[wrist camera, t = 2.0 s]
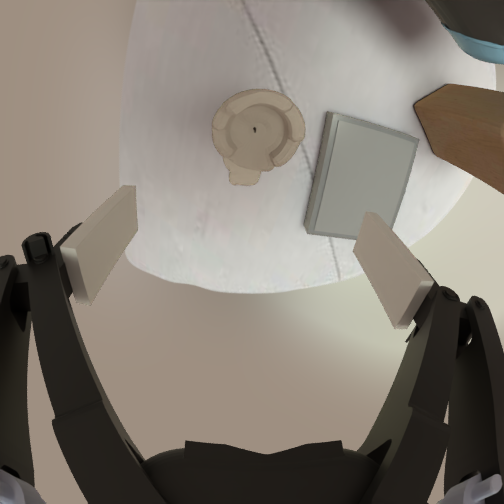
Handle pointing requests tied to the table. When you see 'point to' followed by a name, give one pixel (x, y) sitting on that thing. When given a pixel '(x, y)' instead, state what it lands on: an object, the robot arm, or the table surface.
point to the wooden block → (467, 130)
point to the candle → (256, 133)
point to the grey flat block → (358, 176)
